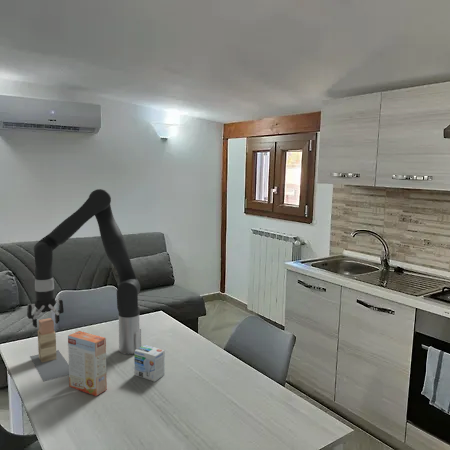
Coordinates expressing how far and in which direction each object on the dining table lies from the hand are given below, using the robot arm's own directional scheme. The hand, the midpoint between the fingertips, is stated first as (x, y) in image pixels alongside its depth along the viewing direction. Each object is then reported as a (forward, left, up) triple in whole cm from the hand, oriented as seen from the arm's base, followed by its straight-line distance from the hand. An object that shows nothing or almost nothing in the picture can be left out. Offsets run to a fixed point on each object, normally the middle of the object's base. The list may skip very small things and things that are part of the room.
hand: (46, 325), depth 185 cm
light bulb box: (-48, +4, -16) cm, 51 cm away
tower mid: (0, 0, -9) cm, 9 cm away
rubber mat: (-5, +5, -15) cm, 17 cm away
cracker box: (-29, +19, -16) cm, 38 cm away
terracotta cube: (0, 0, -3) cm, 3 cm away
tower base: (0, 0, -15) cm, 15 cm away
